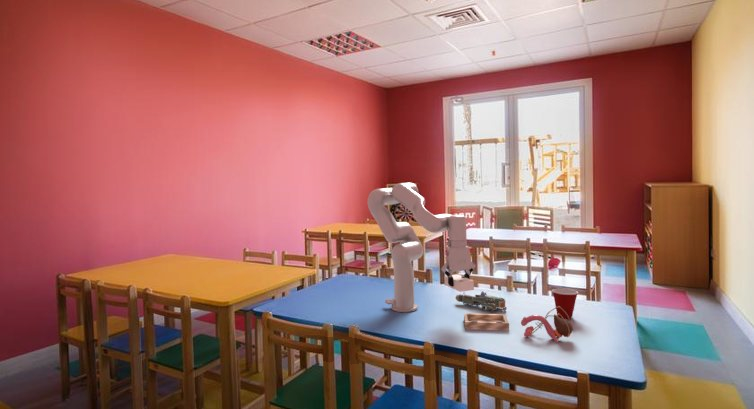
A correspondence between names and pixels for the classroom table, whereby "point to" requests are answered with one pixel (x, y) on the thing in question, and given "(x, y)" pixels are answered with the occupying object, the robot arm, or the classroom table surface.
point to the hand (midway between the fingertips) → (459, 284)
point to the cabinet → (486, 321)
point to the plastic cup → (565, 302)
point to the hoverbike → (482, 301)
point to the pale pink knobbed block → (460, 283)
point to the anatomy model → (549, 326)
